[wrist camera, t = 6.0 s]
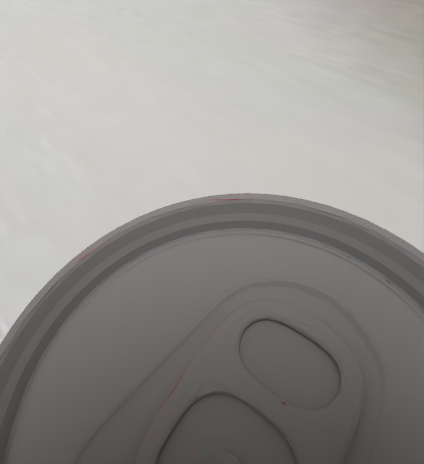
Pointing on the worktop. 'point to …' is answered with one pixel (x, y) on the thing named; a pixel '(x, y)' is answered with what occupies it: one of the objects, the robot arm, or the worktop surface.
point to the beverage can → (223, 343)
